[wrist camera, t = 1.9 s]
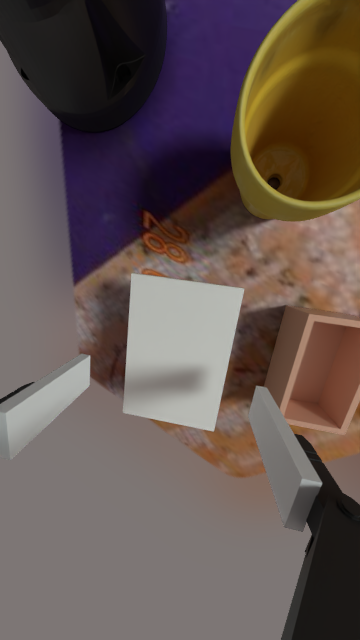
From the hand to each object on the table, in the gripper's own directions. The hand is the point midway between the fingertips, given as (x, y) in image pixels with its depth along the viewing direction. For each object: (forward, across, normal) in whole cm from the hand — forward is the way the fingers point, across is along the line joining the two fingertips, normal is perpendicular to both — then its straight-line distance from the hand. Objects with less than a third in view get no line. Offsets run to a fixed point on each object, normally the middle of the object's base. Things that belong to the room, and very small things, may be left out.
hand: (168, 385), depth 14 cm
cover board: (+5, 0, 0) cm, 5 cm away
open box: (+10, +15, +1) cm, 18 cm away
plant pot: (+10, +7, +19) cm, 22 cm away
